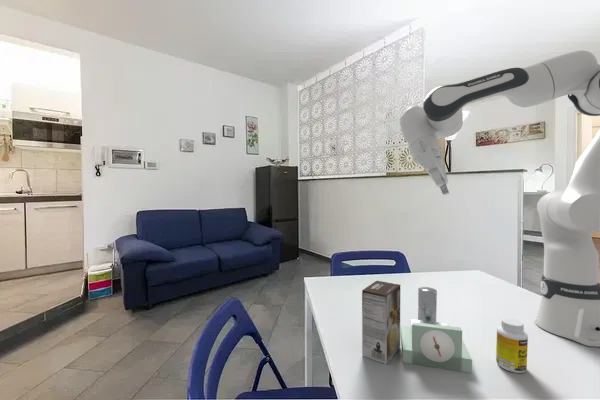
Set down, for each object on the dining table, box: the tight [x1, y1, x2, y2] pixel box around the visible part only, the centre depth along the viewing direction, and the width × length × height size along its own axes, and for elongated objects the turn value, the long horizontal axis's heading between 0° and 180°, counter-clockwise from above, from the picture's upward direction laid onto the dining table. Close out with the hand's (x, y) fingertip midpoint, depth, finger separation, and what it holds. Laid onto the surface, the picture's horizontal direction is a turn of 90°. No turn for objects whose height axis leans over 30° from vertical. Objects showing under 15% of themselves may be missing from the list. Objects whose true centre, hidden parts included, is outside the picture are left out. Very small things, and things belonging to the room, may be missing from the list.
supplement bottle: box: [495, 317, 529, 374], centre depth 65 cm, size 6×6×10 cm
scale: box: [400, 322, 473, 374], centre depth 70 cm, size 14×13×9 cm
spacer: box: [417, 286, 438, 322], centre depth 80 cm, size 5×5×12 cm
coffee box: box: [361, 280, 401, 365], centre depth 71 cm, size 9×6×16 cm
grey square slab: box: [410, 318, 450, 327], centre depth 72 cm, size 9×9×2 cm
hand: (443, 189), depth 87 cm, fingers open, 8 cm apart
